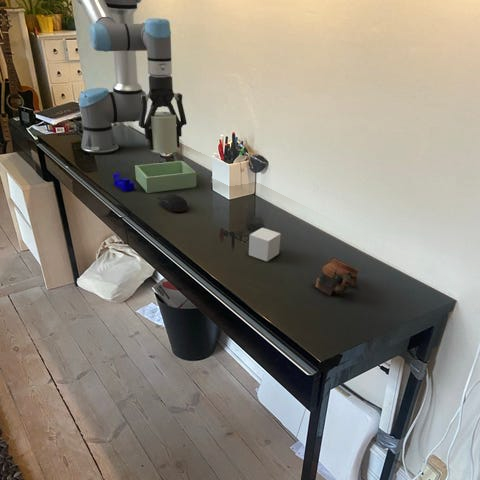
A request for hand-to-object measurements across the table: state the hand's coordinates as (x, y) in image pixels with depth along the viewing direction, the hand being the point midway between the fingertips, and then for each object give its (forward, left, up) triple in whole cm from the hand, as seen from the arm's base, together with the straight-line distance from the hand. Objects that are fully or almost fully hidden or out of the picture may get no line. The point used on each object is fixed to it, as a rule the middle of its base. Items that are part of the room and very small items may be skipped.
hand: (164, 147), depth 168 cm
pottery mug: (+85, +15, -13) cm, 88 cm away
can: (0, 0, -1) cm, 1 cm away
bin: (0, 0, -13) cm, 13 cm away
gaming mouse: (+20, -5, -13) cm, 25 cm away
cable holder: (-1, -15, -13) cm, 20 cm away
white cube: (+62, +7, -13) cm, 64 cm away
